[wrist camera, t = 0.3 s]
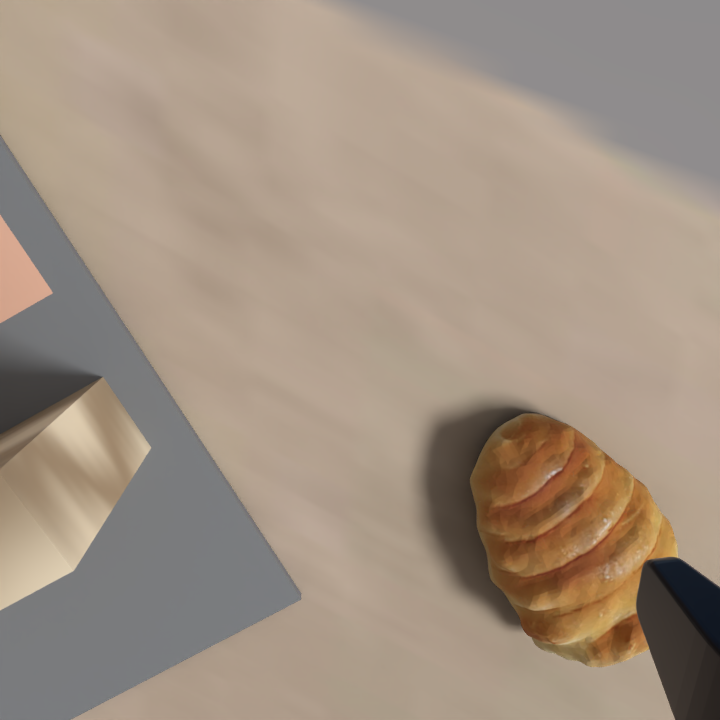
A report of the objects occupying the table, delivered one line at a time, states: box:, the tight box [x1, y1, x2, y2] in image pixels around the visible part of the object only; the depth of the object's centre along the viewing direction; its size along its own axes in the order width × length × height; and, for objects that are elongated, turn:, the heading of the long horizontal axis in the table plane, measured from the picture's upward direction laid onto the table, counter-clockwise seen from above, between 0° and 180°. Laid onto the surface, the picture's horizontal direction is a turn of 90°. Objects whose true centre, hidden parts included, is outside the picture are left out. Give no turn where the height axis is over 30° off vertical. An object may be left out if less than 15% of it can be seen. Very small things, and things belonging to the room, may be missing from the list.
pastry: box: [470, 413, 679, 667], centre depth 25 cm, size 9×7×4 cm
